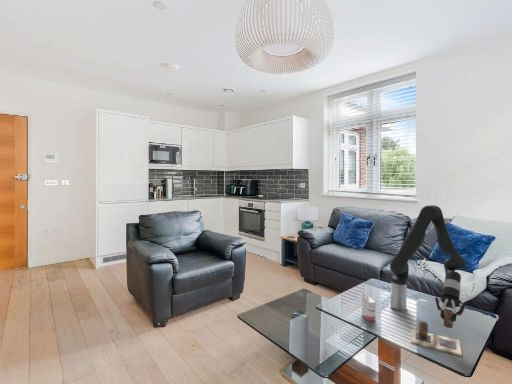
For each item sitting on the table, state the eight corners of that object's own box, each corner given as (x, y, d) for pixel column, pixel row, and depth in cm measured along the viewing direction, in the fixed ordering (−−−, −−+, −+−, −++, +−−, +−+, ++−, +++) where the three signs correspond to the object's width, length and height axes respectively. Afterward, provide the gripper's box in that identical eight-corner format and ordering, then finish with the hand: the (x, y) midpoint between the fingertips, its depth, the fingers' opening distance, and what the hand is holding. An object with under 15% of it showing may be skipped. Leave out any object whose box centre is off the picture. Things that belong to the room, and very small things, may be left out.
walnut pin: (443, 326, 144) (444, 311, 144) (443, 323, 148) (443, 308, 147) (453, 328, 142) (453, 313, 142) (452, 325, 146) (452, 310, 145)
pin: (418, 337, 151) (419, 323, 150) (418, 334, 154) (419, 320, 154) (427, 340, 148) (427, 325, 148) (427, 336, 152) (427, 322, 151)
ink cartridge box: (375, 320, 171) (376, 297, 170) (368, 321, 171) (368, 297, 170) (369, 314, 180) (369, 291, 179) (361, 314, 179) (362, 292, 178)
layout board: (410, 342, 148) (410, 340, 148) (411, 330, 160) (412, 328, 160) (461, 356, 137) (462, 353, 137) (459, 342, 149) (459, 339, 149)
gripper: (435, 283, 154) (430, 312, 146) (467, 289, 145) (464, 321, 136) (436, 289, 159) (432, 318, 150) (468, 296, 149) (465, 327, 141)
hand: (447, 319), depth 143 cm, fingers closed on walnut pin, 4 cm apart
